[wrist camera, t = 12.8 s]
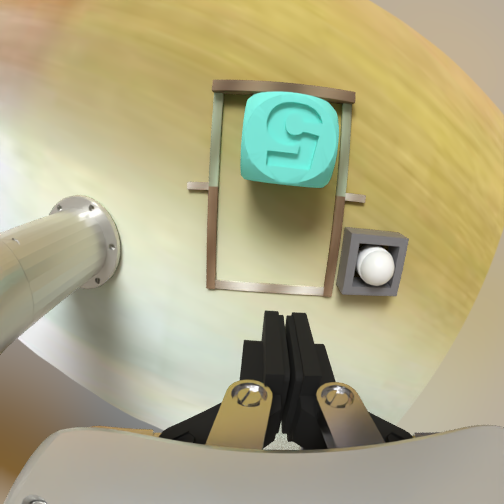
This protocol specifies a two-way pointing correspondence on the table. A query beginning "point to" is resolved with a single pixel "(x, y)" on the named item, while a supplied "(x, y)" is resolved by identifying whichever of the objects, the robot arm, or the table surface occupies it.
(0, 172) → the table surface
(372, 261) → the white ball
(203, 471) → the robot arm
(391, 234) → the collar
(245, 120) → the decorative dice
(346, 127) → the lane
